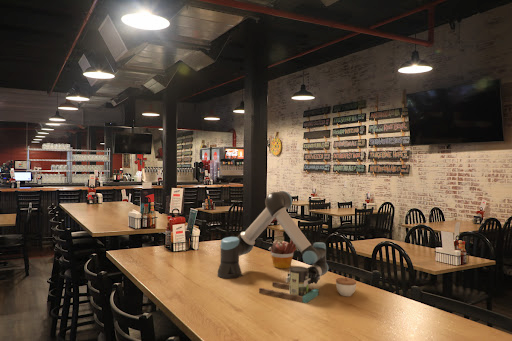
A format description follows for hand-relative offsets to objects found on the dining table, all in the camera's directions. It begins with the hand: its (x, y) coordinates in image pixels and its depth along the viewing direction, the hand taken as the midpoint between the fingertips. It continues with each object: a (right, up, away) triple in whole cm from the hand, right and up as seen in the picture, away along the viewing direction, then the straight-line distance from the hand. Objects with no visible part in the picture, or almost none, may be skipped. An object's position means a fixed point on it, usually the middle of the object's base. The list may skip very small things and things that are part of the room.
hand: (295, 282), depth 206 cm
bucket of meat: (-2, -8, +66) cm, 66 cm away
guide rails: (-3, -8, +7) cm, 11 cm away
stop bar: (+8, -9, 0) cm, 12 cm away
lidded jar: (+28, -9, +7) cm, 30 cm away
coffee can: (+2, -8, +4) cm, 9 cm away
